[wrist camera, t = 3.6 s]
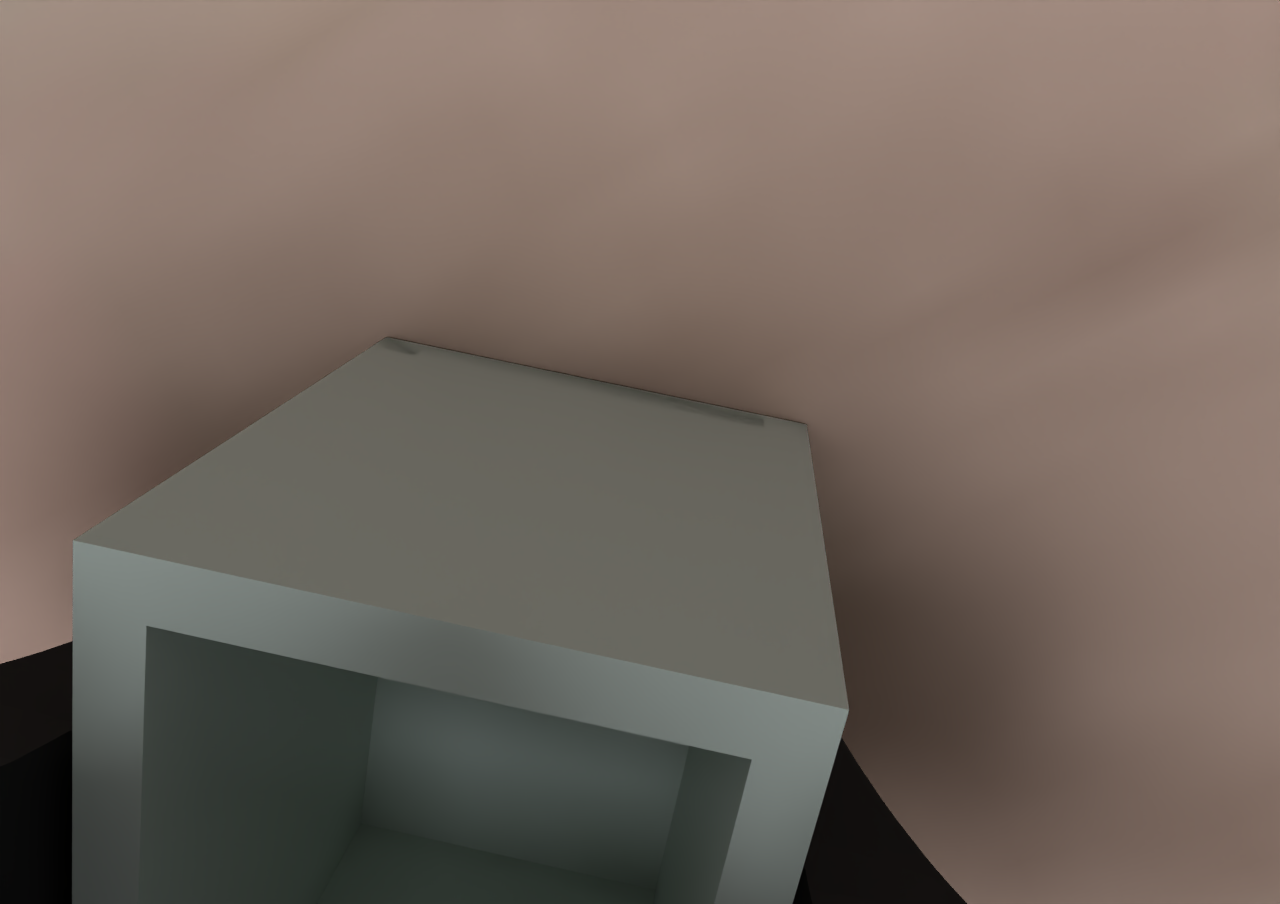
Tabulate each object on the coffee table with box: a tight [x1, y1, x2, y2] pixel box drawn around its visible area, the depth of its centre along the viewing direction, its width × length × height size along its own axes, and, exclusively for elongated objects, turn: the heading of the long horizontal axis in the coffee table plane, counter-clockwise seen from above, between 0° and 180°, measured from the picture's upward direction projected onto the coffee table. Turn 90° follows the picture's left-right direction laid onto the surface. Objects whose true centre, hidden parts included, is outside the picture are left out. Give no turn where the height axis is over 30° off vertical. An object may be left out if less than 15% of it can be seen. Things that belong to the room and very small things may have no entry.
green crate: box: [72, 337, 849, 904], centre depth 11 cm, size 5×7×6 cm
